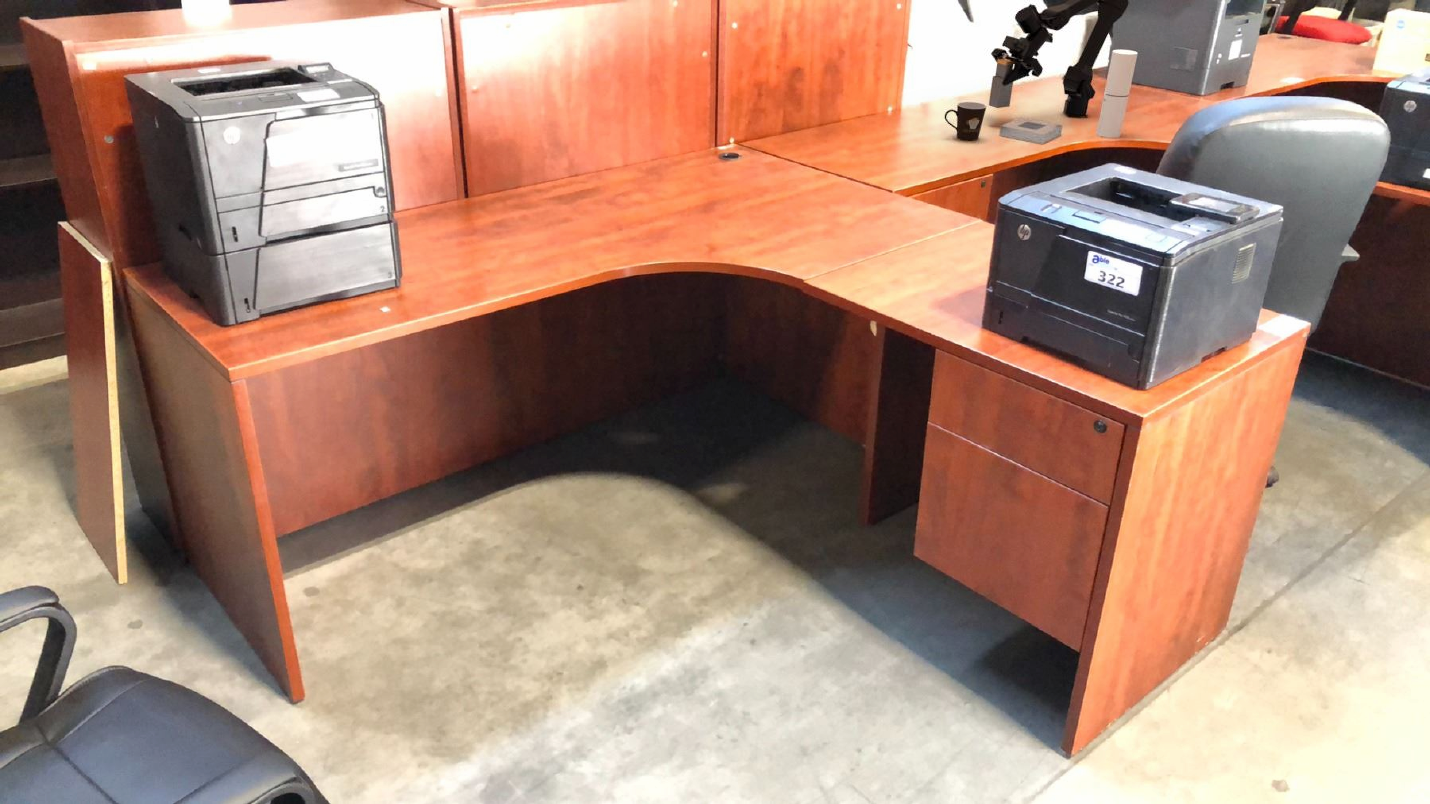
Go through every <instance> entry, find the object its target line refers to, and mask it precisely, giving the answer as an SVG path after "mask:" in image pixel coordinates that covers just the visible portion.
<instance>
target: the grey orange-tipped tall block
mask: <svg viewBox="0 0 1430 804" xmlns="http://www.w3.org/2000/svg"><path fill="white" fill-rule="evenodd" d="M1013 68H1014V61H1012V60H1008V59H998V61H997V62H996V68H995V69H996V70H995V75H993V76H992V81H991V85H990V86H991V87H990V93H989V99H988V106H989V107H993V108H996V109H1000V108H1009V107H1010V106H1011V98H1012V91H1013V86H1014V82H1012V83H1010V84H1008V85H1006V86H1004V85H1003V82H1004V81H1005V79H1006V78H1007V76H1008V75H1009V74H1010V73H1011V71H1012V70H1013Z"/></svg>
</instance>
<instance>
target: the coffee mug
mask: <svg viewBox="0 0 1430 804" xmlns="http://www.w3.org/2000/svg"><path fill="white" fill-rule="evenodd" d="M956 106H957V107H956V108H957V109H956V110H955V109H949V110H947V111H945V113H944V119H945V121H946V123H947V124H948V125H950V126H951V127H953V129H955V130H956V139H957V140H960V141H963V142H975V141H978V140H979V137H980V134H981V133H980V132H981V129H982V125H983V123H984V122H983V121H984V117H985V114H986V109H987V105H986V104H984V103H981V102H975V101H961V102H958V103H957V105H956ZM952 112H953V113H954V114H955V116H956V126H955V125H954V124H952V123H951V121H949V120H948V119H947V116H948V114H949V113H952Z"/></svg>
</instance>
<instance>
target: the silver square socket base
mask: <svg viewBox="0 0 1430 804" xmlns="http://www.w3.org/2000/svg"><path fill="white" fill-rule="evenodd" d="M1063 127H1064V126H1063V125H1062V124H1058V123H1051V122H1046V121H1041V120H1036V119H1035V120H1034V119H1030V118H1025V117H1018V118H1016V119H1014V120H1012V121H1010V122H1007V123H1005V124H1002V125H1000V128H999V137H1005V138H1009V139H1014V140H1020V141H1023V142H1024V141H1025V142H1027V143H1028V142H1030V143H1033V144H1038V143H1039V144H1040V145H1043V144H1045V143H1046V144H1047V142H1049V141H1052V140H1054V139H1055V138H1056V139H1057V138H1058V137H1060V136H1062V132H1063Z"/></svg>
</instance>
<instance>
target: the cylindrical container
mask: <svg viewBox="0 0 1430 804" xmlns="http://www.w3.org/2000/svg"><path fill="white" fill-rule="evenodd" d="M1137 58H1138V52H1137V51H1135V50H1130V49H1114V50H1112V53H1111V56H1110V63H1109V67H1108V73H1107V78H1106V82H1105V89H1104V94H1103V97H1102V103H1101V109H1100V113H1099V119H1098V124H1097V129H1096V135H1097V136H1099V137H1101V136H1103V137H1102V138H1107V139H1117V138H1120V137H1121V135H1122V130H1123V126H1124V125H1123V124H1124V121H1125V114H1126V112H1127V111H1126V110H1127V107H1128V102H1129V97H1130V96H1129V95H1130V92H1131V86H1132V82H1133V78H1134V73H1135V67H1136V62H1137Z"/></svg>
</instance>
